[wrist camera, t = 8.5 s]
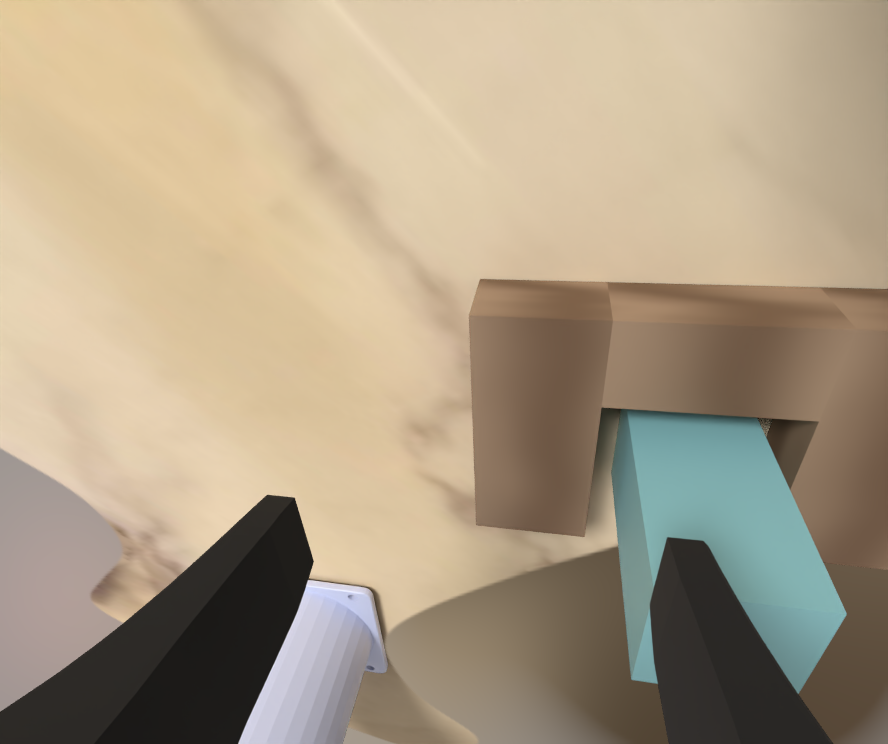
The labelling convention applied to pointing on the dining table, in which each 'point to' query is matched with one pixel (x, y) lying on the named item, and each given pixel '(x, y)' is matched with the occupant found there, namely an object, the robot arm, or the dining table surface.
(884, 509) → the u-shaped block
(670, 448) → the peg
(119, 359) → the dining table surface
